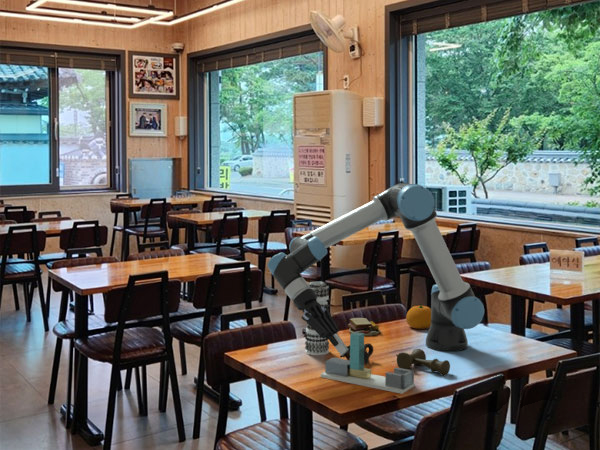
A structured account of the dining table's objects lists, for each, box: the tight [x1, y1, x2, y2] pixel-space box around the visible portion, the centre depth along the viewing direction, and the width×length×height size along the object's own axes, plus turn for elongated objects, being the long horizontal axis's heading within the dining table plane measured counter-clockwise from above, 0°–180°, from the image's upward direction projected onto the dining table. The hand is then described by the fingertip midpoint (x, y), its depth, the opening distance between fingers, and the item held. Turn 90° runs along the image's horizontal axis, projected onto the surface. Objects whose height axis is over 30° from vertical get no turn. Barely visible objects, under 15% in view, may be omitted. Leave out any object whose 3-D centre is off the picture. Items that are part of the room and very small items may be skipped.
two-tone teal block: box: [348, 332, 372, 379], centre depth 234 cm, size 14×3×13 cm, turn 56°
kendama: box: [395, 348, 451, 377], centre depth 245 cm, size 6×10×20 cm
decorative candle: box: [304, 281, 331, 356], centre depth 264 cm, size 9×9×25 cm
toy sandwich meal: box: [347, 317, 381, 337], centre depth 294 cm, size 12×14×5 cm
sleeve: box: [324, 357, 350, 377], centre depth 237 cm, size 8×5×4 cm, turn 56°
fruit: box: [405, 303, 431, 330], centre depth 301 cm, size 12×12×10 cm
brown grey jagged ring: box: [339, 343, 374, 366], centre depth 252 cm, size 12×10×8 cm
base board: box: [320, 371, 416, 395], centre depth 232 cm, size 28×9×1 cm, turn 56°
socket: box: [385, 366, 415, 390], centre depth 225 cm, size 6×7×4 cm
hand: (344, 352), depth 235 cm, fingers closed
